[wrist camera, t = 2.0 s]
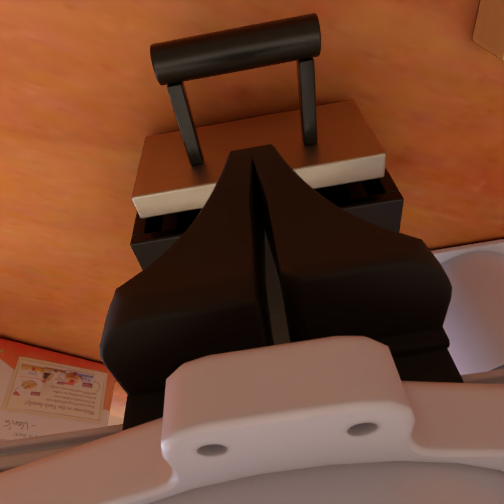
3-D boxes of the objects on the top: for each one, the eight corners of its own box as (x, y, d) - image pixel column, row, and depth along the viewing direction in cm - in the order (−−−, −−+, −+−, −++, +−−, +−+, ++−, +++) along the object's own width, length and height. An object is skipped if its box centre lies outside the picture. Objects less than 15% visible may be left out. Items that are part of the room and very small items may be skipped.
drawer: (105, 30, 17) (76, 77, 13) (356, -19, 16) (400, 15, 13) (202, 292, 29) (201, 355, 25) (349, 268, 28) (370, 330, 24)
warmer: (147, 160, 22) (129, 244, 17) (360, 122, 22) (404, 198, 17) (203, 307, 31) (202, 389, 26) (354, 283, 31) (381, 363, 26)
